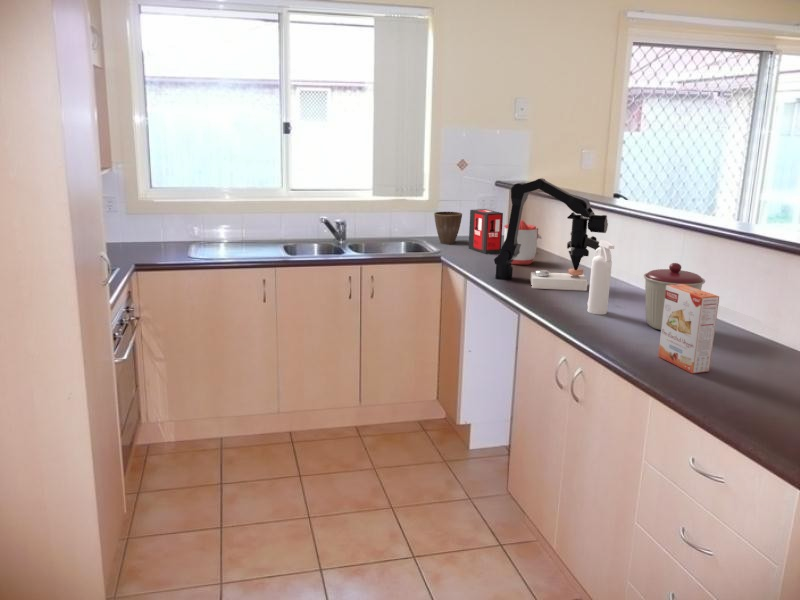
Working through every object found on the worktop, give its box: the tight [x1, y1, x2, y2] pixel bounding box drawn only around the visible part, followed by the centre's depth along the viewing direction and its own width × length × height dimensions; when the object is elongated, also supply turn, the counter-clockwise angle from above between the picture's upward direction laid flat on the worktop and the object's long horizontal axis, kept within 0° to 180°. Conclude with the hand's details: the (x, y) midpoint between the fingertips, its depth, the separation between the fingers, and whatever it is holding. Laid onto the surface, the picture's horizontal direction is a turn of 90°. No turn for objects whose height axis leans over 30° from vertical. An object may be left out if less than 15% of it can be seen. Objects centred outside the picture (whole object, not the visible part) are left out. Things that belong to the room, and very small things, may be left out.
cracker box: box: [657, 284, 720, 374], centre depth 182 cm, size 14×6×21 cm, turn 17°
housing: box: [529, 271, 588, 292], centre depth 273 cm, size 21×12×4 cm, turn 83°
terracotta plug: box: [568, 267, 584, 278], centre depth 272 cm, size 6×6×5 cm
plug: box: [534, 269, 550, 277], centre depth 273 cm, size 6×6×5 cm
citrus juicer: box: [503, 219, 543, 266], centre depth 316 cm, size 16×17×20 cm
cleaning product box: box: [468, 208, 504, 255], centre depth 345 cm, size 16×9×20 cm, turn 25°
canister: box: [643, 262, 706, 331], centre depth 216 cm, size 18×18×21 cm
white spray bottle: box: [586, 239, 615, 315], centre depth 234 cm, size 7×12×25 cm, turn 9°
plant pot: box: [433, 211, 463, 245], centre depth 366 cm, size 15×15×16 cm
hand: (575, 269), depth 271 cm, fingers closed, pressing on terracotta plug
